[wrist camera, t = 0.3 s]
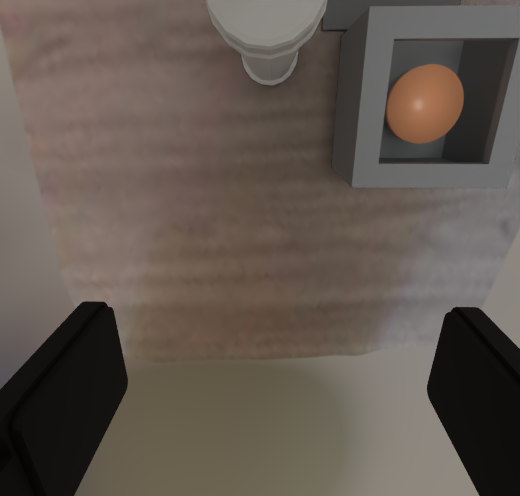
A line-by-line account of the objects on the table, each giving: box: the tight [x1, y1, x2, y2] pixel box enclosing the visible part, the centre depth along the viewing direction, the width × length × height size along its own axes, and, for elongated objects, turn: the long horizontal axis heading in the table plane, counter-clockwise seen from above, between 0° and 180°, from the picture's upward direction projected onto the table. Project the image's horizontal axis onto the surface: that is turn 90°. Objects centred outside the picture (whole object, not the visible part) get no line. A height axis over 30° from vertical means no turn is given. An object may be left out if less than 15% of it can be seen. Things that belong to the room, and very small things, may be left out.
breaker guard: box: [331, 5, 520, 188], centre depth 32 cm, size 13×13×11 cm
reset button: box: [384, 64, 464, 144], centre depth 31 cm, size 6×6×3 cm
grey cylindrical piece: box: [205, 0, 327, 86], centre depth 22 cm, size 6×6×30 cm
